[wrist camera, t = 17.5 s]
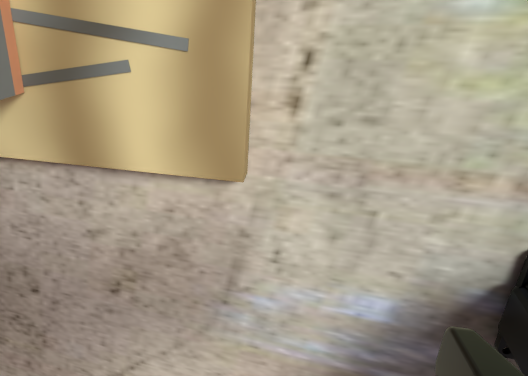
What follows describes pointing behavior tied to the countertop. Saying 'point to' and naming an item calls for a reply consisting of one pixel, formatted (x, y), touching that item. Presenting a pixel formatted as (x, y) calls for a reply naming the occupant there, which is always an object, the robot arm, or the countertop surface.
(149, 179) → the countertop surface
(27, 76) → the board
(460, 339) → the robot arm
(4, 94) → the block
